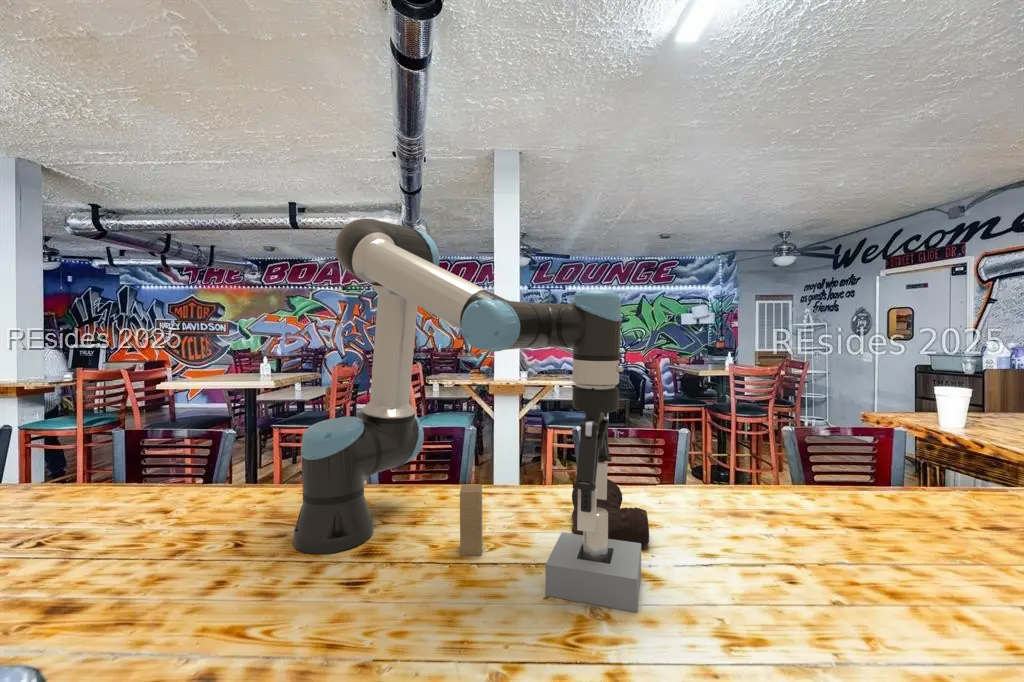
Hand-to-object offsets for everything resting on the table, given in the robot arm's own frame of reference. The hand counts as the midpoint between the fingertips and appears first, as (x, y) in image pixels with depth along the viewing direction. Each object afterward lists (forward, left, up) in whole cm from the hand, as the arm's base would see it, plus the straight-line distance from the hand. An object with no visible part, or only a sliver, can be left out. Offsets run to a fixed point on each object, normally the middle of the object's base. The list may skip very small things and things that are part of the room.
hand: (593, 513), depth 77 cm
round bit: (0, 0, -12) cm, 12 cm away
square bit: (-24, +4, -12) cm, 27 cm away
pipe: (0, +20, -12) cm, 23 cm away
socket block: (0, 0, -12) cm, 12 cm away
